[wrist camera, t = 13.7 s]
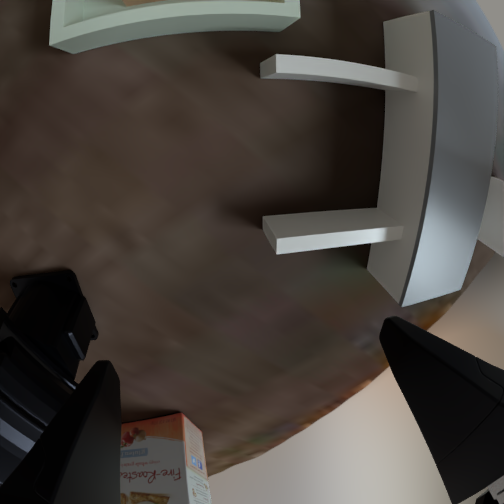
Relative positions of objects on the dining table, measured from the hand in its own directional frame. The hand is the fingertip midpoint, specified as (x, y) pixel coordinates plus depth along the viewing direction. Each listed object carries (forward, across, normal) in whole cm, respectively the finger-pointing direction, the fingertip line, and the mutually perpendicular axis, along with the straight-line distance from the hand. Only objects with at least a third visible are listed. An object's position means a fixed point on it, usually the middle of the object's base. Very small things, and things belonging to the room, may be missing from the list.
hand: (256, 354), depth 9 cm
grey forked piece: (+12, -11, -4) cm, 17 cm away
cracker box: (+12, +12, +26) cm, 31 cm away
